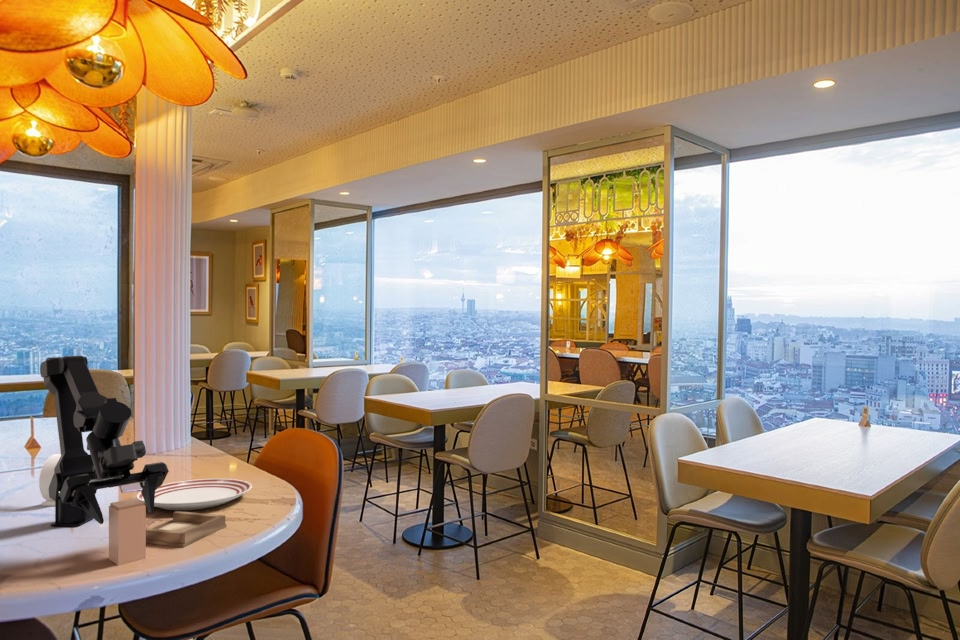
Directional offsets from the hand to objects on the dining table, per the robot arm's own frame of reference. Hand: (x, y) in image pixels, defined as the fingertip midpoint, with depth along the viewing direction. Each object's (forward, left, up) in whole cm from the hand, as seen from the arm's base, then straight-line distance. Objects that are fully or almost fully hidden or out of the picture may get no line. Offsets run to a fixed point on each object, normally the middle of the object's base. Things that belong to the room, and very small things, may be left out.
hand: (127, 517), depth 130 cm
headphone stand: (-39, +37, -8) cm, 55 cm away
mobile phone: (-29, +56, -9) cm, 64 cm away
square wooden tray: (+3, +15, -8) cm, 17 cm away
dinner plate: (-5, +41, -9) cm, 42 cm away
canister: (0, 0, -8) cm, 8 cm away
